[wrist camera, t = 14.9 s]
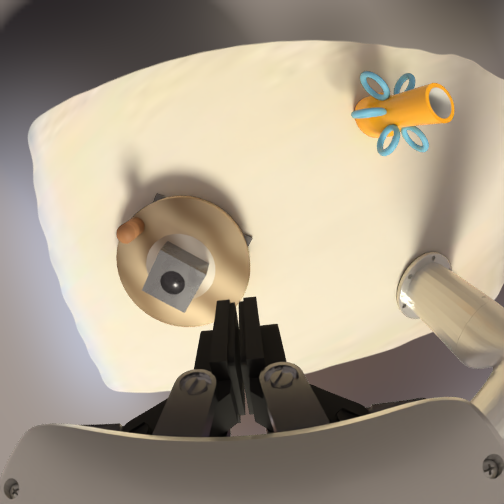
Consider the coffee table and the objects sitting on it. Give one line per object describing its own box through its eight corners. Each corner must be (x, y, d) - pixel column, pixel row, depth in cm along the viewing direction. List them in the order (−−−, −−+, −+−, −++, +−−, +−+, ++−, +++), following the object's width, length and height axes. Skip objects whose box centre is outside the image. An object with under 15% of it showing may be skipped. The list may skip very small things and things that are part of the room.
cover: (167, 240, 33) (160, 249, 29) (209, 263, 34) (206, 274, 31) (149, 278, 34) (141, 290, 31) (189, 299, 36) (184, 313, 32)
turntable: (182, 166, 32) (170, 167, 26) (276, 265, 37) (284, 285, 31) (101, 258, 35) (81, 275, 29) (188, 337, 40) (181, 364, 34)
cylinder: (341, 159, 33) (403, 162, 19) (324, 85, 30) (375, 47, 16) (412, 149, 33) (484, 154, 19) (397, 83, 30) (463, 61, 15)
